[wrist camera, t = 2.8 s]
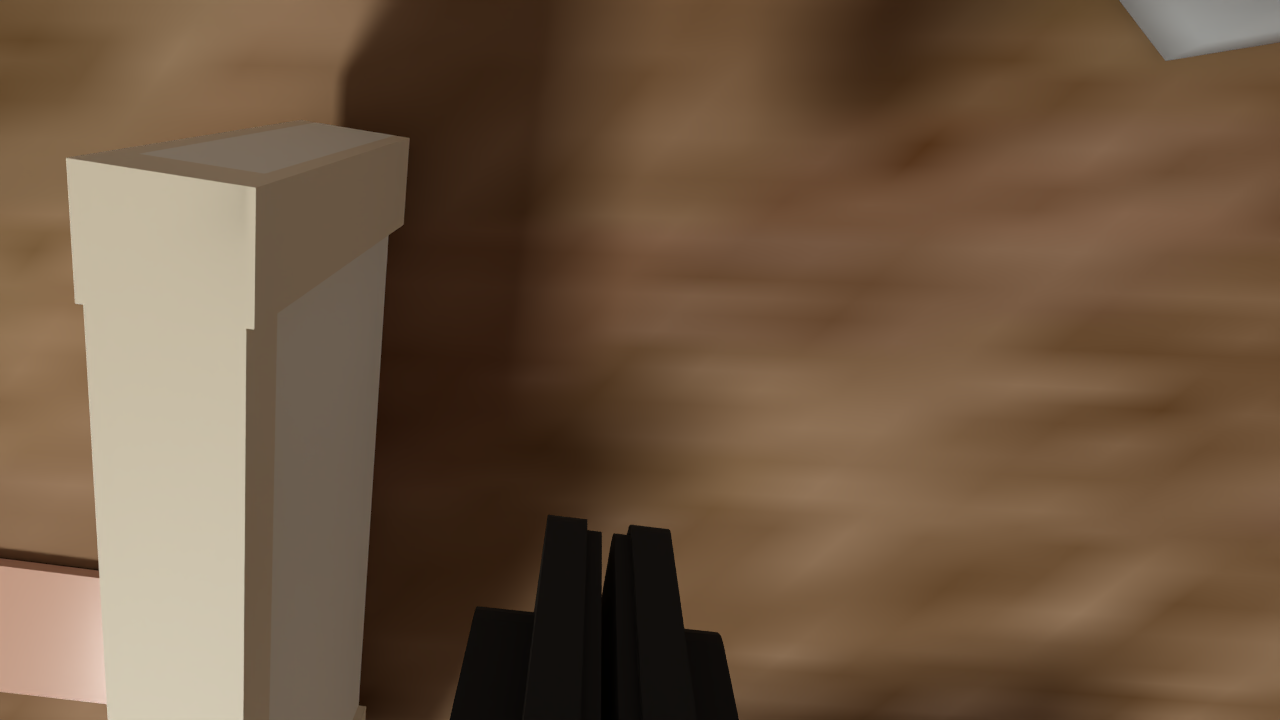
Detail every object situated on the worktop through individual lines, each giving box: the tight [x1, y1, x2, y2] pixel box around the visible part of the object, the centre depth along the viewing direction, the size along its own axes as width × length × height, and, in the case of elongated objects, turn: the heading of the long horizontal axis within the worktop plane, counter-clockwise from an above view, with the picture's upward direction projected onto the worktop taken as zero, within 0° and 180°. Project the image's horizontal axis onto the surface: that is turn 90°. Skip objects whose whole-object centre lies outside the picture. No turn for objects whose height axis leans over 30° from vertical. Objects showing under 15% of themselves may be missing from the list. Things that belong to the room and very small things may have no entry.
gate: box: [66, 120, 410, 720], centre depth 16 cm, size 2×16×8 cm, turn 171°
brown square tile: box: [0, 558, 107, 704], centre depth 22 cm, size 4×4×1 cm
